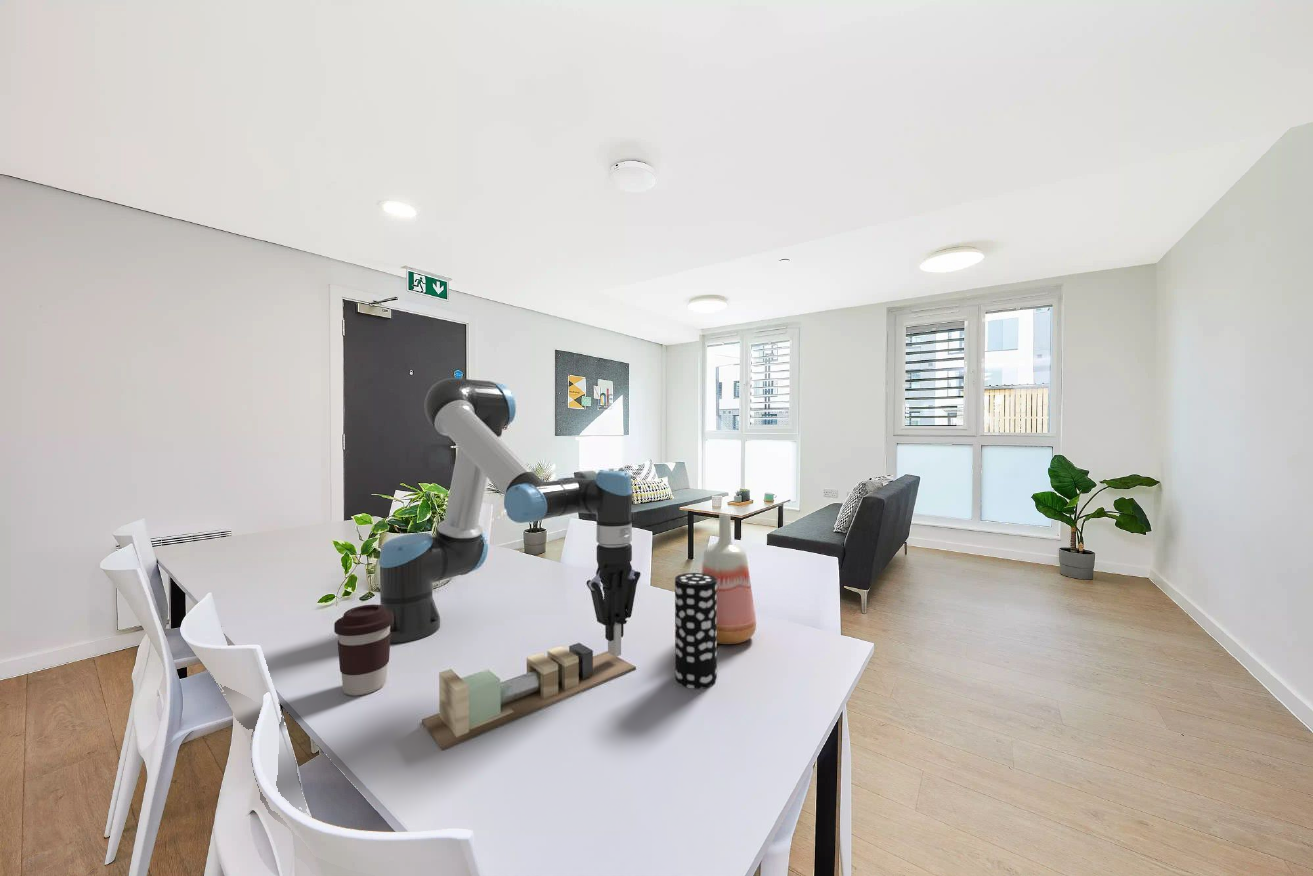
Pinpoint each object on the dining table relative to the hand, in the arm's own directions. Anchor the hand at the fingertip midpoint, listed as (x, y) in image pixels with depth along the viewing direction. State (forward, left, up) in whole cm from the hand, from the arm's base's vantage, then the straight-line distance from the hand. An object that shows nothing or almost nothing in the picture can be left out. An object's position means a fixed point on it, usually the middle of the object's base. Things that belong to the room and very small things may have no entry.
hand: (614, 653), depth 105 cm
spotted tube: (+16, +8, -2) cm, 18 cm away
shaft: (0, -17, -1) cm, 17 cm away
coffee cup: (-25, -42, -2) cm, 49 cm away
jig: (0, -18, -2) cm, 18 cm away
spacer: (0, -30, -2) cm, 30 cm away
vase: (+7, +28, -2) cm, 29 cm away
